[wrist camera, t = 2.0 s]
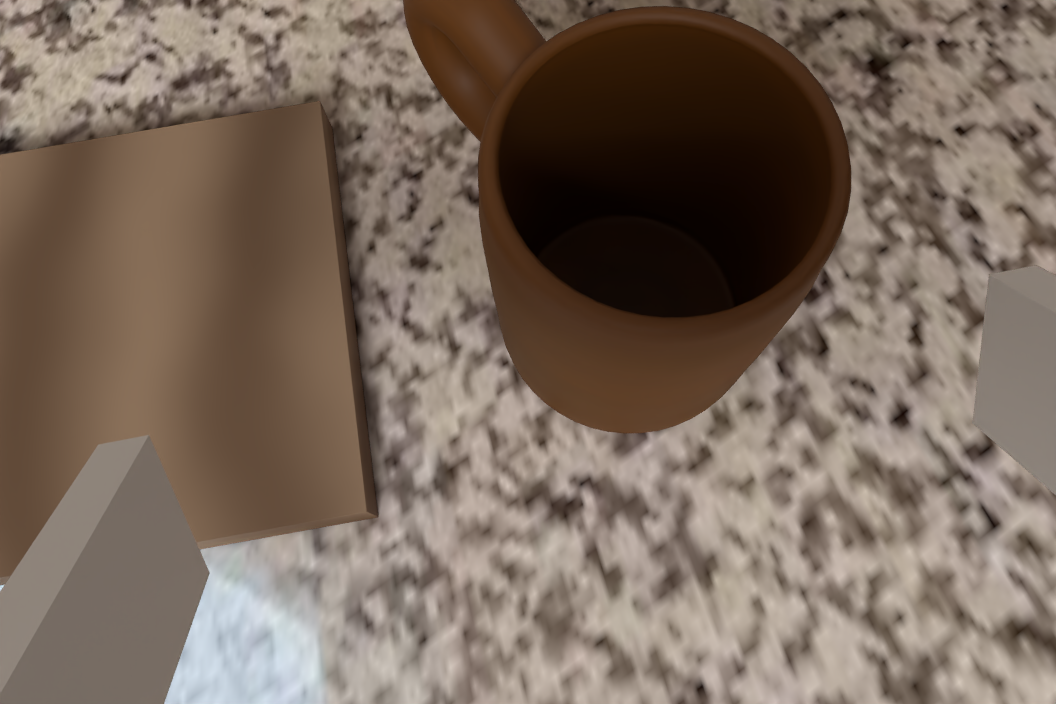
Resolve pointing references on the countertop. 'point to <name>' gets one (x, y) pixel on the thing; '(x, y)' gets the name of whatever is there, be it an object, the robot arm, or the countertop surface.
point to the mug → (639, 196)
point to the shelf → (183, 325)
